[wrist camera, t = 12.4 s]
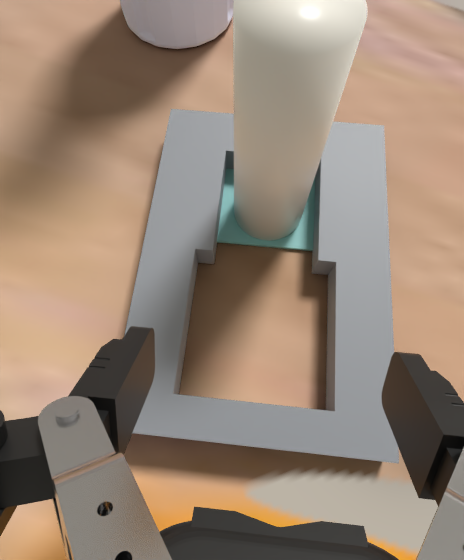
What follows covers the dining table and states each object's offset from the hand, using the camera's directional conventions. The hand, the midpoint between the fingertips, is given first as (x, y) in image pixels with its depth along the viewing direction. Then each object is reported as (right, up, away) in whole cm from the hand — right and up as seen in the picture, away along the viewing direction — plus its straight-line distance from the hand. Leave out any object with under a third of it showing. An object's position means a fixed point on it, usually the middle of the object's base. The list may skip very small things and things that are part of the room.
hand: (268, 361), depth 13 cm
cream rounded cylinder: (+1, +7, +12) cm, 14 cm away
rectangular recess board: (+1, +3, +11) cm, 11 cm away
